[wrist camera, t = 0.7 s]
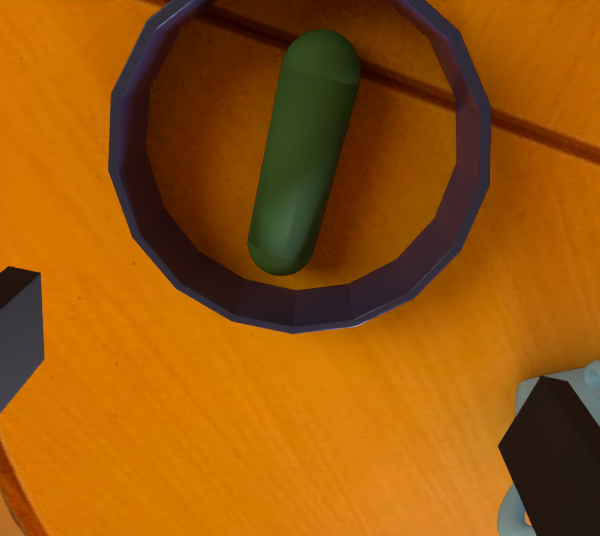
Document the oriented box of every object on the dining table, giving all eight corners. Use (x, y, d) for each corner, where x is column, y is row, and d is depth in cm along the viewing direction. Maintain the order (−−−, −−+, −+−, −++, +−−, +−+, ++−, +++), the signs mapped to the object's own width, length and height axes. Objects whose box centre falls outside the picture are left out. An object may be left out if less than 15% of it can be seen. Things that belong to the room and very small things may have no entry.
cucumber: (292, 20, 28) (288, 19, 23) (366, 39, 28) (375, 42, 24) (247, 250, 35) (237, 279, 31) (306, 263, 35) (305, 294, 31)
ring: (152, -82, 25) (117, -105, 21) (523, 19, 27) (563, 18, 23) (129, 261, 35) (103, 294, 31) (402, 319, 37) (413, 359, 33)
